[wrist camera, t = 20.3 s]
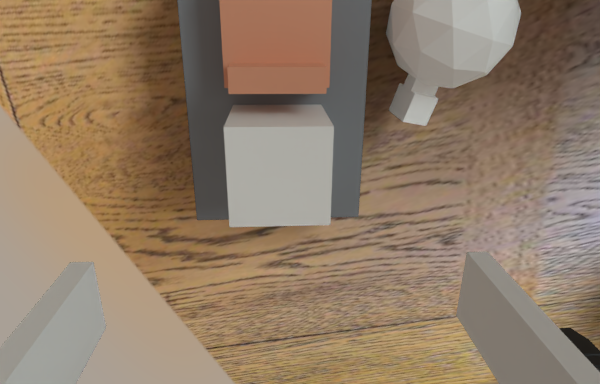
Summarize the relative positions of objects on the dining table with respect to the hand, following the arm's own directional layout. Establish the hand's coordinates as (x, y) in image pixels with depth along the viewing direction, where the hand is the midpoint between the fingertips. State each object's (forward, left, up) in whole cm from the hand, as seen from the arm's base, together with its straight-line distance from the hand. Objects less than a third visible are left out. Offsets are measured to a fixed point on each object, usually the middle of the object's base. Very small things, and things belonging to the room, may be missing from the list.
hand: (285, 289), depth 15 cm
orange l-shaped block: (-8, 0, -18) cm, 20 cm away
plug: (0, 0, -23) cm, 23 cm away
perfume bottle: (-8, +12, -24) cm, 28 cm away
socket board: (-3, 0, -24) cm, 24 cm away
